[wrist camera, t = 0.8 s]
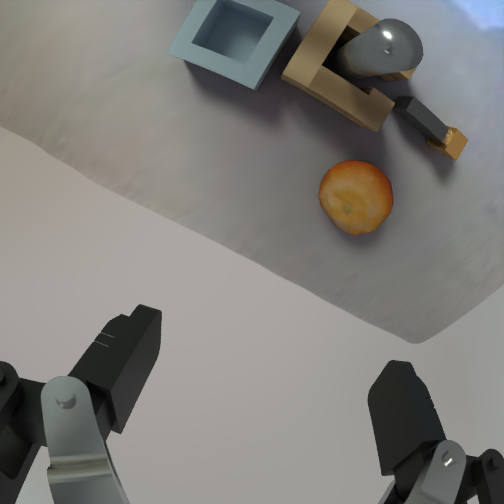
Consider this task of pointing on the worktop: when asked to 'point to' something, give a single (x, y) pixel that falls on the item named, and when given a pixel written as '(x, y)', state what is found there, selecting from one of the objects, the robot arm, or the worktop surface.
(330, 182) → the fruit
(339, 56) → the peg
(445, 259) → the worktop surface
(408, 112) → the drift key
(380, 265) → the worktop surface
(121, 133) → the worktop surface
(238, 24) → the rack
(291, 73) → the socket block
